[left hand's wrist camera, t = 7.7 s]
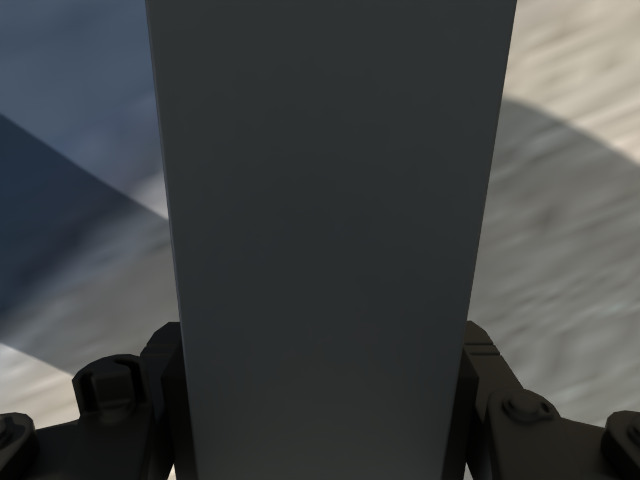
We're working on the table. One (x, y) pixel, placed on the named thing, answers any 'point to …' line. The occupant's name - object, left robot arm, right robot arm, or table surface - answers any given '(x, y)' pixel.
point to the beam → (325, 223)
